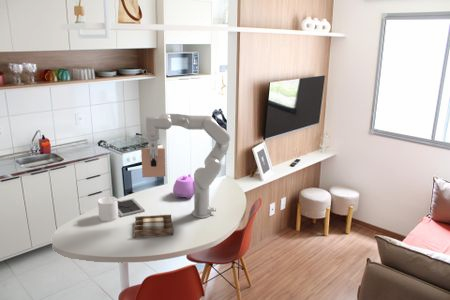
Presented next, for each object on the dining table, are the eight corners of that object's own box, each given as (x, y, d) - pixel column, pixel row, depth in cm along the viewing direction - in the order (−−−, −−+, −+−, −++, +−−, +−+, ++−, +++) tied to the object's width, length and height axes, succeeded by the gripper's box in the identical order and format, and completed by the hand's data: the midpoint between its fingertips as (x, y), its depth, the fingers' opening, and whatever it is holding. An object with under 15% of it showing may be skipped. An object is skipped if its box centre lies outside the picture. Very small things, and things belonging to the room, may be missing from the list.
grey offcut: (164, 231, 234) (163, 222, 233) (163, 235, 231) (163, 225, 229) (143, 232, 233) (143, 223, 231) (143, 235, 229) (142, 226, 227)
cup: (118, 212, 256) (117, 195, 253) (118, 220, 245) (117, 203, 242) (99, 213, 254) (98, 196, 250) (98, 222, 243) (97, 204, 239)
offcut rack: (171, 220, 248) (171, 214, 247) (172, 235, 230) (172, 228, 229) (135, 222, 244) (135, 216, 243) (134, 237, 227) (134, 231, 225)
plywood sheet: (165, 174, 246) (164, 147, 241) (165, 176, 244) (164, 148, 238) (142, 175, 243) (141, 148, 238) (142, 177, 241) (141, 149, 236)
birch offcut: (163, 226, 240) (163, 217, 239) (163, 229, 237) (163, 220, 235) (143, 227, 238) (143, 218, 236) (143, 230, 234) (143, 221, 233)
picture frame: (111, 205, 266) (121, 218, 250) (110, 202, 266) (121, 214, 249) (133, 200, 275) (144, 212, 258) (133, 197, 274) (144, 208, 258)
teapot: (204, 191, 293) (204, 172, 289) (196, 201, 275) (196, 182, 270) (179, 187, 298) (179, 169, 293) (170, 198, 279) (169, 178, 274)
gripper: (159, 140, 229) (160, 169, 235) (158, 133, 244) (159, 161, 250) (146, 140, 228) (147, 170, 233) (146, 133, 243) (147, 161, 248)
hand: (153, 165), depth 241 cm, fingers closed on plywood sheet, 2 cm apart
